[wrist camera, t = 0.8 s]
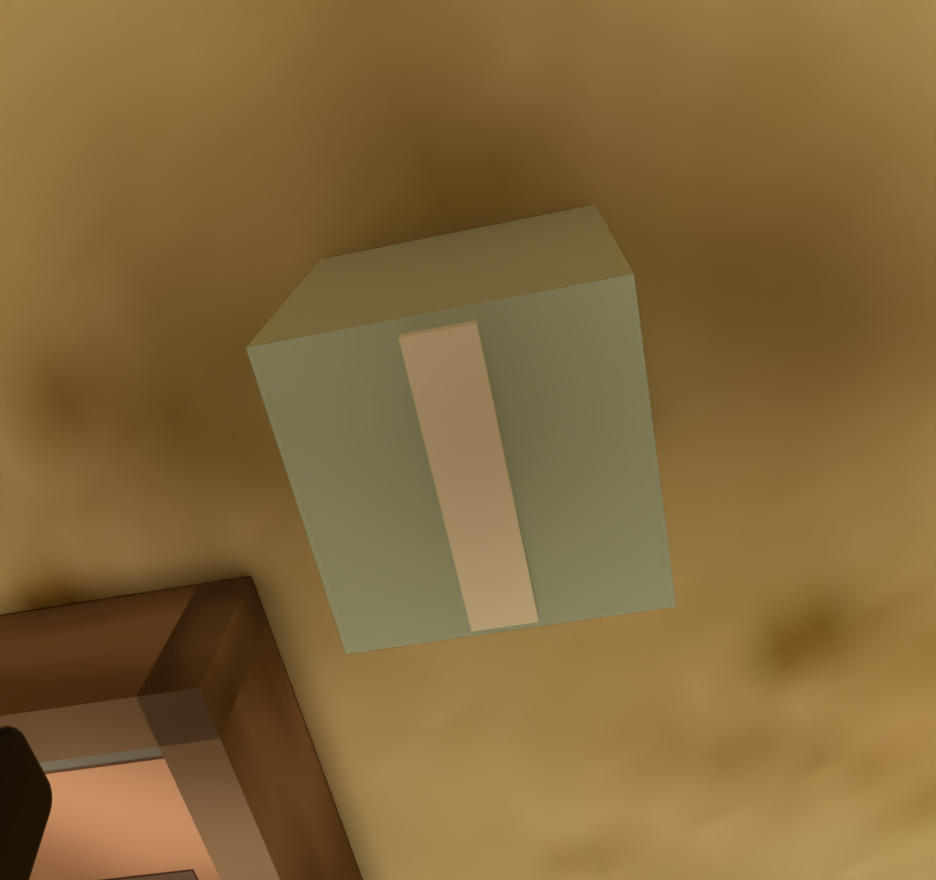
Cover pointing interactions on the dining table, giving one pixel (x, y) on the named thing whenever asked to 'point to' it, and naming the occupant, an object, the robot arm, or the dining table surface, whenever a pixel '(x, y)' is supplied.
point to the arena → (169, 741)
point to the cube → (471, 432)
